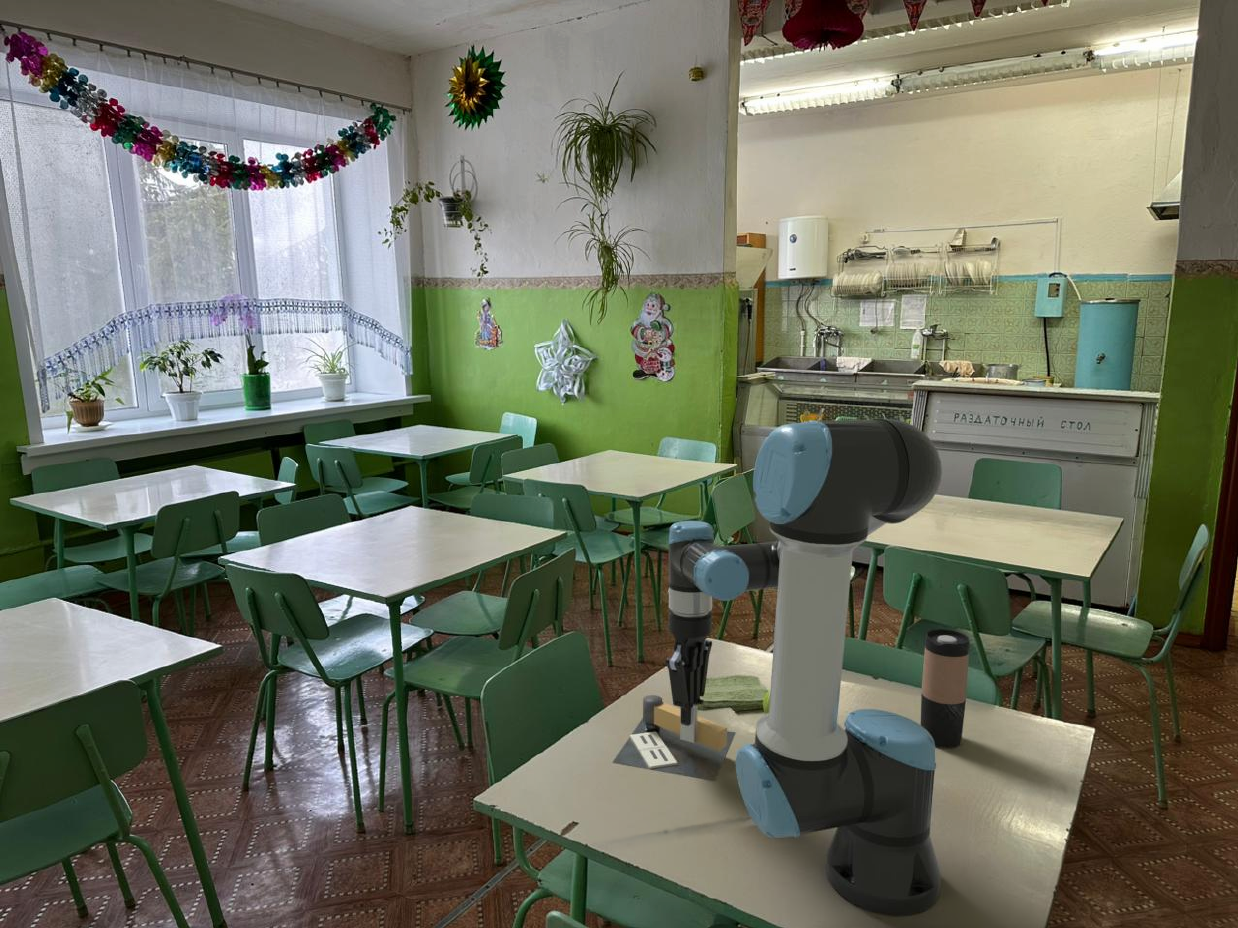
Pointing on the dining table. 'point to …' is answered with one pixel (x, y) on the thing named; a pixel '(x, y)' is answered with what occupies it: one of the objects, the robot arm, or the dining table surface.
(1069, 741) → the dining table surface
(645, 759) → the label
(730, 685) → the washcloth
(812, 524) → the robot arm
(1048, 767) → the dining table surface
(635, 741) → the label
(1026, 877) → the dining table surface
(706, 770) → the chassis plate
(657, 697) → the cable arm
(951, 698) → the travel mug
